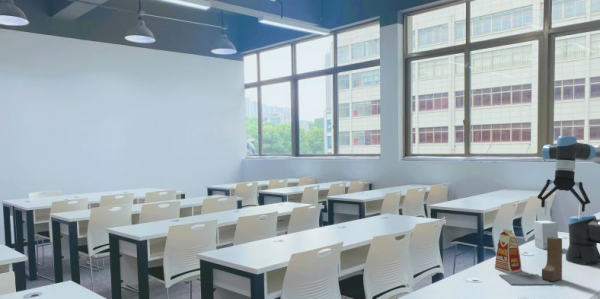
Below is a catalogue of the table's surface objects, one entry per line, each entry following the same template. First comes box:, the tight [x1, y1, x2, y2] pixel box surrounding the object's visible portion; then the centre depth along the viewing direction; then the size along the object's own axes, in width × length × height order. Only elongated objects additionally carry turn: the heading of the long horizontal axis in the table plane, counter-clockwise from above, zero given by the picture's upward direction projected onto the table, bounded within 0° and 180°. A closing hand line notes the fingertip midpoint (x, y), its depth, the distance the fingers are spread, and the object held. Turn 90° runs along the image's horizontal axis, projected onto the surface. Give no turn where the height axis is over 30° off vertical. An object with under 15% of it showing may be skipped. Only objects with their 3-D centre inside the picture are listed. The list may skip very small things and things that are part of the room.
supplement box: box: [533, 220, 559, 250], centre depth 245 cm, size 9×9×15 cm
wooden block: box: [541, 237, 563, 282], centre depth 187 cm, size 9×4×18 cm, turn 123°
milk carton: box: [494, 228, 523, 274], centre depth 205 cm, size 9×9×20 cm
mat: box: [498, 273, 554, 286], centre depth 188 cm, size 17×14×1 cm
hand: (561, 217), depth 190 cm, fingers open, 13 cm apart
